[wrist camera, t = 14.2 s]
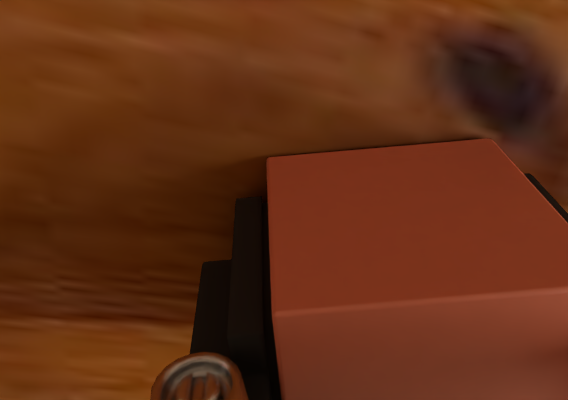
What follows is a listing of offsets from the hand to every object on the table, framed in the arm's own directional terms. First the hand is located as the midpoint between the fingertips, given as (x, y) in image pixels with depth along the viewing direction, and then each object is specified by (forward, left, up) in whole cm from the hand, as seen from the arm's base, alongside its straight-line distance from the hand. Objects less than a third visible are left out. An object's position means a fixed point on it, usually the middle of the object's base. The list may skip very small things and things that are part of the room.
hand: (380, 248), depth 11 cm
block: (0, 0, 0) cm, 0 cm away
